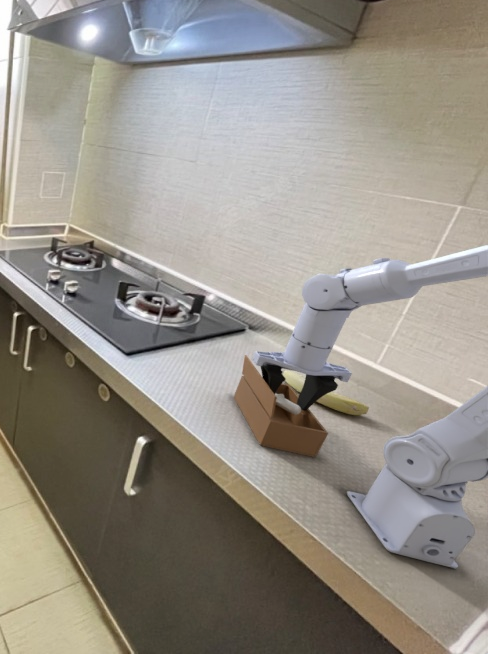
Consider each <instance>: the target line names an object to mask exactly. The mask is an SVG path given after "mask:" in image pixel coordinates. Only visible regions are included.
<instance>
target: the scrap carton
mask: <svg viewBox="0 0 488 654" xmlns="http://www.w3.org/2000/svg"><path fill="white" fill-rule="evenodd" d="M276 393H277V394H283V395H284V398H285V399H287V400H289V401H291V402H293V403H294V404H296V405H298V404H297V400H298V397H299V395H298V393H297V391H296V390H295V389H294V388H293V387H291V386H290V385H289V384H288V383H282V384H281V385H280V386H279V388H278V389H277V391H276ZM233 399H234V401H235V402H236V404H237V406H238V408H239V409H240V412H241V413H242V415H243V417H244V419H245V420H246V423H247V425H248V426H249V428H250V429H251V432H252V433H253V435H254V437H255V439H256V441H257V442H258V444H259V446H263V447H266V448H271V449H276V450H280V451H285V452H290V453H294V454H297V455H298V454H299V455H303V456H308V457H312V458H317V456H318V454H319V452H320V450H321V448H322V447H323V445H324V443H325V440H326V439H327V437H328V435H329V432H328V431H327V430H326V428H325V427H324V426H323V425H322V423H321V422H320V421H319V419H317V417H316V416H315V415H314V413H313V412H312V410H311V409H309V408H308V409H307V410H306V411H304V410H302V409H301V413H300V414H298V415H294V414H292V413H290V412H288V411H286V410H285V409H283V408H281V407H279V406H277V405H275V409H274V414H273V418H271V417H270V416H269V414H268V413H267V411H266V410H265V408H264V407H263V405H262V403H261V402H260V400H259V399H258V397H257V396H256V394H255V393H254V391H253V389H252V388H251V386H250V385H249V383H248V382H247V380H246V379H245V377H244V375H242V376H241V377H240V379H239V383H238V385H237V387H236V390H235V392H234V395H233ZM298 406H299V405H298ZM302 413H303V414H302Z"/></svg>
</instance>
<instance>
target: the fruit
mask: <svg viewBox="0 0 488 654" xmlns="http://www.w3.org/2000/svg"><path fill="white" fill-rule="evenodd" d="M282 375H283V376H284V377H285V378H286V380H285V381H284V382H285V383H286V384H287V385H290V386H291V387H292V389H293V390H294V391H296V392H298V393H299V394H300V393H301V391H302V388H303V386H304V382H305V378H306V377H305V376H303V375H302V374H301V373H300V374H299V372H297V371H293V370H288V369H285V370H283V372H282ZM315 403H318V404H320V405H323V406H325V407H327V408H330V409H333V410H335V411H338V412H340V413H342V414H346V415H352V416H361V415H362V416H363V415H367V414H368V411H369V409H370V407H369V405H366V404H364V403H362V402H361V401H359V400H356V399H353V398H351V397H348V396H345V395H341V394H339V393H337V392H334V391H332V392H330V393H327V394H326V395H324V396H322V397H321V398H319V399H318V400H317V401H316V402H315Z"/></svg>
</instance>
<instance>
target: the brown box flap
mask: <svg viewBox="0 0 488 654" xmlns="http://www.w3.org/2000/svg"><path fill="white" fill-rule="evenodd" d="M243 358H244V359H243V363H242V364H243V365H242V370H241V371H242V372H241V374H242V376H244V377H245V379H246V380H247V382H248V383H249V385H250V386H251V388H252V389H253V391H254V393H255V394H256V396H257V397H258V399H259V400H260V402H261V403H262V405H263V407H264V408H265V410H266V411H267V413H268V414H269V416H270V417H271V418H273V414H274V409H275V404H276V398H277V397H276V396H275V394H274V393H273V392H272V390H271V389H270V387H269V386H268V385H267V383H266V382H265V380H264V379H263V378H262V374H261V373H260V372H259V370H258V369H257V368H256V367H255V365H254V364H253V361H251V360H250V358H249V356H248V355H246V354H244V357H243Z"/></svg>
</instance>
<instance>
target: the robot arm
mask: <svg viewBox="0 0 488 654" xmlns="http://www.w3.org/2000/svg"><path fill="white" fill-rule="evenodd" d="M487 277H488V244H486V245H481V246H478V247H474V248H470V249H466V250H463V251H459V252H455V253H451V254H447V255H444V256H439V257H436V258H432V259H428V260H424V261H420V262H415V263H412V264H411V263H409V262H406V261H404V260H401V259H390V258H389V257H380V258H376V259H373V260H372V264H370V265H365V266H361V267H357V268H354V269H353V268H350V267H346V268H341V269H339V272H338V273H337V274H327V273H318V274H315V275H314V276H310V277H309V278H307V280H306V281H305V282H304V283H303V285H302V288H301V296H302V298H303V300H304V302H305V303H304V304H303V308H302V310H301V312H300V314H299V317H298V319H297V320H296V324H295V326H294V328H293V331H292V333H291V336H290V338H289V340H288V343H287V345H286V348H285V350H284V351H283V352H282V351H281V352H280V351H258V350H255V351H254V354H253V357H252V359H251V360H252V363H254V364H255V365H256V366H258V367H260V370H261V376H262V378H263V379H264V380H265V382H266V383H267V385H268V386H269V387H270V389H271V390H272V392H273V393H274V394H275V393H276V391H277V389H278V388H279V386H280V385H281V384H284V382H286V381H285V380H286V378H285V377H284V376H283V372H284V370H290V371H294V372H296V373H300V374H304V375H305V377H304V378H305V382H304V386H303V388H302V391H301V393H300V392H299V395H298V396H299V397H298V400H297V404H298V405H299V406H300V408H301V409H302V410H304V411H306V410H307V409H309V408H311V407H312V406H313V405H314V404H315V403H317V402H316V401H317V400H318V399H319V398H321V397H322V396H324V395H326V394H327V393H330V392H334V391H336V390H338V389H337V388H338V387H339V384H338V382H337V381H335V380H337V379H338V380H339V381H340V382H343V383H348V382H349V380H350V379H351V376H352V375H353V373H352V371H350V369H348V368H347V367H346V366H342V365H337V364H333V363H330V362H327V360H328V358H329V356H330V355H331V352H332V350H333V347H334V346H335V344H336V342H337V339H338V337H339V335H340V333H341V331H342V329H343V326H344V325H345V322H346V321H347V319H349V318H350V315H351V313H352V312H354V311H355V310H357V309H359V308H361V307H362V306H363V307H364V306H369V305H374V304H375V305H376V304H381V303H382V304H383V303H387V302H394V301H399V300H407V299H412V298H413V297H415V296H416V295H417V294H418V292H419V291H420V290H421V289H422V288H423V287H427V286H433V285H441V284H447V283H453V282H460V281H466V280H473V279H479V278H487ZM282 369H283V370H282ZM382 453H383V458H384V461H385V464H384V466H383V467H382V469H381V471H380V472H379V474H378V475H377V477H376V478H375V480H374V482H373V483H372V485H371V487H370V488H369V490H368V491H367V493H366V494H363V493H359V492H355V491H349V490H348V491H346V495H347V497H348V498H349V500H350V501H351V502H352V503H353V505H354V506H355V508H356V510H358V512H359V514H361V516H362V517H363V519H364V520H365V522H366V523H367V525H368V526H369V527H370V529H371V530H372V532H373V533H374V535H375V536H376V537H377V538H378V540H379V542H380V543H381V544H382V545H383V547H384V548H385V549H386V550H387V551H388V552H390V553H392V554H396V555H400V556H404V557H407V558H412V559H417V560H420V561H424V562H427V563H431V564H436V565H440V566H444V567H447V568H451V569H458V568H459V564H458V563H457V562H456V561H455V560H456V559H457V558H458V557H459V555H460V554H461V553H462V552H463V550H464V549H465V548H466V547H467V545H468V544H469V543H470V541H472V539H473V538H474V536H475V534H476V528H475V526H474V523H473V522H472V521H471V519H470V518H469V517H468V514H467V513H466V511H465V509H464V507H463V501H462V499H463V498H464V497H465V493H466V486H467V484H468V483H469V482H480V481H484V480H486V479H488V385H487V386H485V387H484V388H483V389H481V390H480V391H479V392H478V393H476V394H475V395H473V396H472V397H471V398H469V399H468V400H467V401H465V402H464V403H463V404H461V405H459V407H457V408H456V409H455V410H453V411H452V412H451V413H449V414H448V415H447V416H445V417H444V418H441V419H439V420H436V421H434V422H431V423H428V424H426V425H424V426H421V427H420V428H418V429H417V430H415V431H414V432H411V433H410V434H407V435H396V436H393V437H391V438H389V439H388V440H386V442H385V443H384V445H383V449H382Z"/></svg>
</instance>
